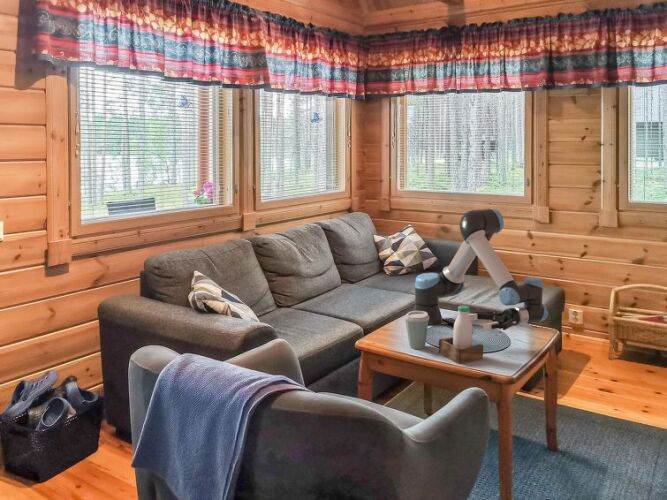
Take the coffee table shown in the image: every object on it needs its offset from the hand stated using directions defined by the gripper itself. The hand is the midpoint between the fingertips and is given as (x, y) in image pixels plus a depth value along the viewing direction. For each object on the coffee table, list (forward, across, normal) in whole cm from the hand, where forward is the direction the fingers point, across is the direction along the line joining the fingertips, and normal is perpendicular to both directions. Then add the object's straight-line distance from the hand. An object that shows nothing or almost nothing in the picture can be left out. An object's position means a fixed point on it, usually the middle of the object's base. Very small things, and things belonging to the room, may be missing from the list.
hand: (473, 322), depth 247 cm
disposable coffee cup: (+17, +18, -14) cm, 28 cm away
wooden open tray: (+6, 0, -14) cm, 15 cm away
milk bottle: (+5, 0, -13) cm, 14 cm away
